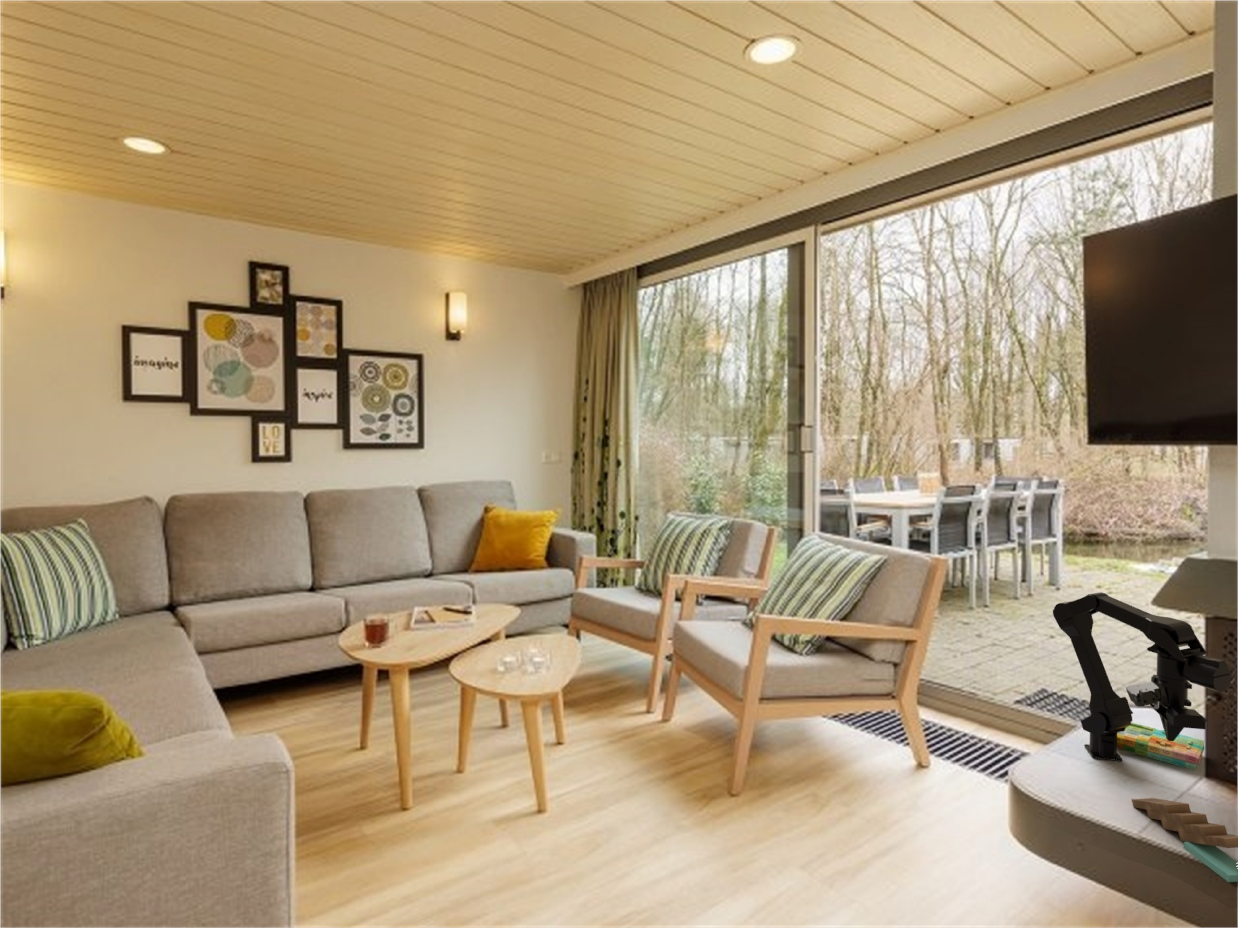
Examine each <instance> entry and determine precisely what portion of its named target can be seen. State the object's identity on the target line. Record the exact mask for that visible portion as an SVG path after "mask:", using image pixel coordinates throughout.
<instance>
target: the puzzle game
mask: <svg viewBox="0 0 1238 928" xmlns="http://www.w3.org/2000/svg"><path fill="white" fill-rule="evenodd" d="M1117 750H1121V751H1124V752H1128V753H1131V754H1136V755H1139V756H1142V757H1146V758H1149V759H1154V760H1156V761H1157V760H1158V761H1161V762H1165V763H1168V764H1172V765H1175V766H1180V767H1183V768H1186V769H1190V770H1194V769H1195V768H1196V767H1197V766H1199V765H1200V762H1201V759H1202V756H1203V753H1204V751H1205V749H1204V740H1202V739H1199V738H1197V737H1196V738H1195V737H1192V736H1187V735H1184V734H1181V733H1180V734H1179V735H1178V736H1177V737H1176V739H1175V740H1174V741H1168V740H1167V738H1166V735H1165V732H1164V729H1163V730H1162V729H1158V728H1156V727H1150V726H1145V725H1142V724H1138V723H1134V722H1131V724H1130V725H1129V726H1128V727H1126V729H1125V731H1123V732H1122V731H1121V732H1117Z"/></svg>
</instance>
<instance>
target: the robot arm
mask: <svg viewBox="0 0 1238 928" xmlns="http://www.w3.org/2000/svg"><path fill="white" fill-rule="evenodd" d="M1097 613H1101V614H1103V615H1105V616H1108V617H1109V618H1112V619H1114V620H1116V621H1119V622H1120V623H1123V624H1125V625H1127V626H1129V627H1130V628H1131V627H1132V628H1133V629H1136V630H1138V631H1140V632H1141V633H1142V634H1144V635H1145V637H1146V638H1147V639H1148V640H1149V641H1151V642H1152V643H1153V645H1151V646H1149V647H1147V648H1146V651H1148V652H1151V653H1154V654H1156V674H1152V676H1151V677H1150V678H1151V680H1150V681H1147V682H1145V681H1144V682H1139V683H1135V684H1131V685H1127V686H1125V690H1126V692H1127V695H1128V698H1129V699H1130V701H1131V702H1132V703H1133V704H1134V705H1135V706H1136V707H1139V708H1140V707H1145V706H1150V707H1151V708H1152V709H1153V710H1154V711H1155V712H1156V713H1157V714H1158V715H1159V717H1160V721H1161V724H1162V727H1163V730H1164V732H1165V735H1166V738H1167V740H1168V741H1174V740H1175V739H1176V737H1177V736H1178V735H1179V734H1180V735H1181V732H1182V731H1183V730H1184V729H1197V730H1206V729H1208V727H1207V726H1208V720H1207V719H1206V718H1205V717H1204V716H1203V715H1201V713H1199V712H1198V711H1197V710H1195V708H1194V709H1191V708H1188V707H1192V701H1191V700H1189V699H1188V695H1189V692H1188V691H1189V690H1193V684H1194V685H1197V686H1199V687H1204V688H1206V689H1209V690H1212V691H1215V692H1218V693H1223V692H1225V691H1226V690H1228V688H1229V687H1230V686H1231V683H1232V677H1233V676H1232V674H1231V671H1230V669H1229V668H1228V667H1227V666H1226V661H1225V660H1223V659H1220V658H1213V657H1210V656H1207V655H1208V653H1207V650H1206V649H1205V647H1204V646H1203V644H1202V643H1201V642H1200V640H1199V638H1198V637H1197V635H1196V634H1195V631H1194V629H1193V626H1192V625H1191V624H1189V622H1187V621H1185V620H1180V619H1177V618H1173V617H1170V616H1162V615H1161V616H1160V615H1156V614H1152V613H1149V612H1147V611H1145V610H1142V609H1139V608H1138V607H1135V606H1133V605H1132V604H1131V605H1130V604H1128V603H1125V602H1124V601H1122V600H1118V599H1117V598H1114V597H1113V596H1110V595H1109V594H1107V593H1104V592H1101V591H1100V592H1095V593H1089V594H1086V595H1085V596H1082V597H1081V598H1077V599H1075V600H1071V601H1064V602H1058V603H1057V604H1056V605H1054V607H1053V609H1052V615H1053V618H1054V619H1055V622H1056V624H1057V626H1058V627H1059V629H1060V630H1061V631H1062V632H1063V633H1065V634H1066V635H1067V636H1068V637H1069V639H1070V642H1071V644H1072V646H1073V647H1072V648H1073V649H1074V652H1075V654H1076V657H1077V659H1078V662H1079V665H1080V668H1081V671H1082V674H1083V676H1084V678H1085V681H1086V685H1087V687H1088V690H1089V692H1090V696H1089V697H1090V699H1089V705H1088V709H1089V712H1090V715H1089V716H1087V717H1086V718H1084V719H1081V720H1080V723H1081V727H1082V729H1083V731H1086V732H1087V733H1089V744H1087V743H1085V744H1084V745H1083V747H1084V748H1085V749H1086V751H1087V752H1088V753H1089V755H1090V756H1091V757H1092V758H1093V759H1097V760H1098V759H1099V760H1100V759H1102V760H1111V761H1119V762H1120V761H1121V762H1122V761H1123V757H1122V756H1121V755H1120V754H1119V752H1118V748H1117V732H1121V731H1122V732H1123V731H1125V729H1126V727H1128V726H1129V725H1130V724H1131V723H1133V714H1134V712H1133V710H1132V709H1131V707H1130V704H1129V701H1128V698H1127V697H1126V696H1122V697H1120V696H1119V694H1118V693H1116V692H1115V691H1114V689H1113V686H1112V684H1111V681H1110V679H1109V675H1108V673H1107V671H1106V669H1105V666H1104V663H1103V661H1102V658H1101V656H1100V652H1099V650H1098V648H1097V645H1096V642H1095V640H1094V637H1093V634H1092V632H1093V627H1094V620H1093V619H1094V618H1093V615H1094V614H1097ZM1181 647H1187V648H1182V649H1181ZM1191 683H1192V684H1191Z"/></svg>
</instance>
